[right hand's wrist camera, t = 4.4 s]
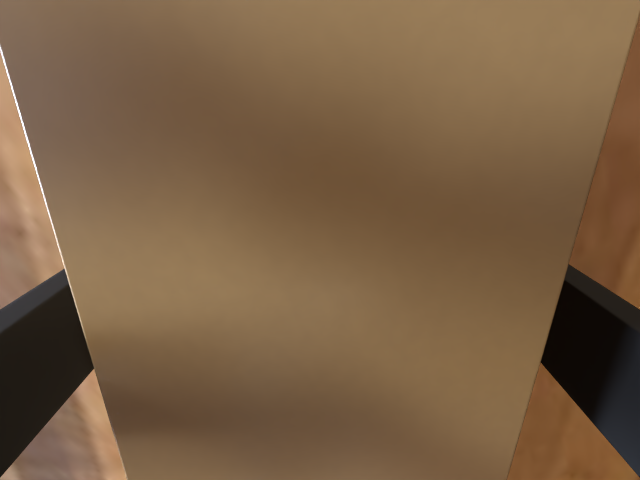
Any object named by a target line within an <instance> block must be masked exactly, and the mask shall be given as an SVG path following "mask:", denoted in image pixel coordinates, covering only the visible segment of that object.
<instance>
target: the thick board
mask: <svg viewBox="0 0 640 480" xmlns="http://www.w3.org/2000/svg"><path fill="white" fill-rule="evenodd" d="M639 16H640V0H0V51H1V54H2V58H3V61H4V65H5V68H6V71H7V75H8V78H9V82H10V85H11V88H12V92H13V95H14V98H15V102H16V105H17V109H18V112H19V115H20V119H21V122H22V126H23V129H24V132H25V136H26V139H27V142H28V146H29V149H30V153H31V156H32V159H33V163H34V166H35V170H36V173H37V176H38V180H39V183H40V186H41V190H42V193H43V197H44V200H45V203H46V207H47V210H48V214H49V217H50V220H51V224H52V227H53V230H54V234H55V237H56V241H57V244H58V247H59V251H60V254H61V258H62V261H63V264H64V268H65V271H66V275H67V278H68V281H69V285H70V288H71V291H72V295H73V298H74V302H75V305H76V308H77V312H78V315H79V319H80V322H81V325H82V329H83V332H84V335H85V339H86V342H87V346H88V349H89V352H90V356H91V359H92V363H93V366H94V369H95V373H96V376H97V379H98V383H99V386H100V390H101V393H102V396H103V400H104V403H105V407H106V410H107V413H108V417H109V420H110V423H111V427H112V430H113V434H114V437H115V440H116V444H117V447H118V451H119V454H120V457H121V461H122V464H123V467H124V471H125V474H126V478H127V480H507V477H508V474H509V470H510V467H511V463H512V460H513V456H514V453H515V449H516V446H517V442H518V439H519V435H520V432H521V428H522V425H523V422H524V418H525V415H526V411H527V408H528V404H529V401H530V397H531V394H532V390H533V387H534V383H535V380H536V376H537V373H538V369H539V366H540V362H541V359H542V355H543V352H544V348H545V345H546V341H547V338H548V334H549V331H550V327H551V324H552V320H553V317H554V313H555V310H556V306H557V303H558V299H559V296H560V292H561V289H562V285H563V282H564V278H565V275H566V271H567V268H568V264H569V261H570V257H571V254H572V250H573V247H574V243H575V240H576V236H577V233H578V229H579V226H580V222H581V219H582V215H583V212H584V208H585V205H586V201H587V198H588V194H589V191H590V187H591V184H592V180H593V177H594V173H595V170H596V166H597V163H598V159H599V156H600V152H601V149H602V145H603V142H604V138H605V135H606V131H607V128H608V124H609V121H610V117H611V114H612V110H613V107H614V103H615V100H616V96H617V93H618V89H619V86H620V82H621V79H622V75H623V72H624V68H625V65H626V61H627V58H628V54H629V51H630V47H631V44H632V40H633V37H634V34H635V30H636V27H637V23H638V20H639Z"/></svg>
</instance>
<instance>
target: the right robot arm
mask: <svg viewBox="0 0 640 480" xmlns="http://www.w3.org/2000/svg"><path fill="white" fill-rule="evenodd" d="M541 363H542V364H543V365H544V367H545V368H546V369H547V370H548V371H549V372H550V374H551V375H552V376H553V377H554V378H555V379H556V381H557V382H558V383H559V384H560V385H561V386H562V388H563V389H564V390H565V391H566V392H567V393H568V395H569V396H570V397H571V398H572V399H573V400H574V402H575V403H576V404H577V405H578V406H579V407H580V409H581V410H582V411H583V412H584V413H585V414H586V415H587V417H588V418H589V419H590V420H591V421H592V422H593V424H594V425H595V426H596V427H597V428H598V429H599V431H600V432H601V433H602V434H603V435H604V436H605V438H606V439H607V440H608V441H609V442H610V443H611V445H612V446H613V447H614V448H615V449H616V450H617V452H618V453H619V454H620V455H621V456H622V457H623V459H624V460H625V461H626V462H627V463H628V464H629V466H630V467H631V468H632V469H633V470H634V471H635V472H636V474H637V475H638V476H639V477H640V310H639V309H638V308H636V307H635V306H633V305H632V304H630V303H628V302H627V301H625V300H624V299H622V298H621V297H619V296H617V295H616V294H614V293H613V292H611V291H610V290H608V289H607V288H605V287H603V286H602V285H600V284H599V283H597V282H596V281H594V280H592V279H591V278H589V277H588V276H586V275H585V274H583V273H581V272H580V271H578V270H577V269H575V268H574V267H572V266H570V265H569V264H568V268H567V271H566V275H565V278H564V282H563V285H562V289H561V292H560V296H559V299H558V303H557V306H556V310H555V313H554V317H553V320H552V324H551V327H550V331H549V334H548V338H547V341H546V345H545V348H544V352H543V355H542V359H541ZM93 369H94V366H93V363H92V359H91V356H90V352H89V349H88V346H87V342H86V339H85V335H84V332H83V329H82V325H81V322H80V319H79V315H78V312H77V308H76V305H75V302H74V298H73V295H72V291H71V288H70V285H69V281H68V278H67V275H66V271H65V269H63V270H62V271H60V272H59V273H57V274H55V275H54V276H52V277H51V278H49V279H48V280H46V281H44V282H43V283H41V284H40V285H38V286H37V287H35V288H33V289H32V290H30V291H29V292H27V293H26V294H24V295H23V296H21V297H19V298H18V299H16V300H15V301H13V302H12V303H10V304H8V305H7V306H5V307H4V308H2V309H1V310H0V477H1V476H2V475H3V474H4V472H5V471H6V470H7V469H8V468H9V467H10V466H11V464H12V463H13V462H14V461H15V460H16V459H17V457H18V456H19V455H20V454H21V453H22V452H23V450H24V449H25V448H26V447H27V446H28V445H29V443H30V442H31V441H32V440H33V439H34V438H35V436H36V435H37V434H38V433H39V432H40V431H41V429H42V428H43V427H44V426H45V425H46V424H47V422H48V421H49V420H50V419H51V418H52V417H53V415H54V414H55V413H56V412H57V411H58V410H59V409H60V407H61V406H62V405H63V404H64V403H65V402H66V400H67V399H68V398H69V397H70V396H71V395H72V393H73V392H74V391H75V390H76V389H77V388H78V386H79V385H80V384H81V383H82V382H83V381H84V379H85V378H86V377H87V376H88V375H89V374H90V372H91V371H92V370H93Z"/></svg>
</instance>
